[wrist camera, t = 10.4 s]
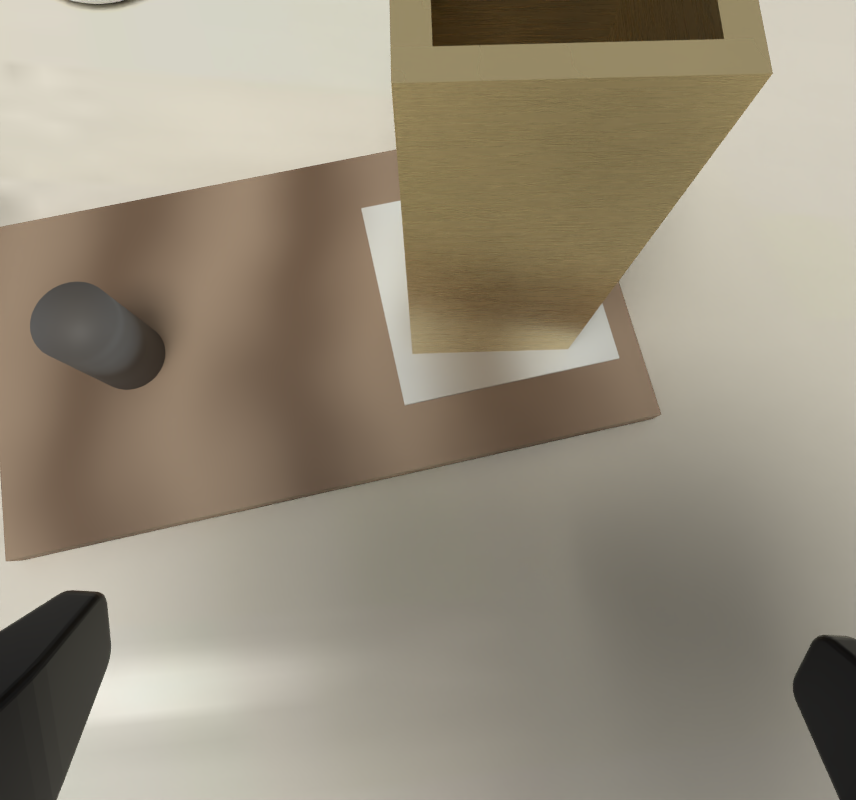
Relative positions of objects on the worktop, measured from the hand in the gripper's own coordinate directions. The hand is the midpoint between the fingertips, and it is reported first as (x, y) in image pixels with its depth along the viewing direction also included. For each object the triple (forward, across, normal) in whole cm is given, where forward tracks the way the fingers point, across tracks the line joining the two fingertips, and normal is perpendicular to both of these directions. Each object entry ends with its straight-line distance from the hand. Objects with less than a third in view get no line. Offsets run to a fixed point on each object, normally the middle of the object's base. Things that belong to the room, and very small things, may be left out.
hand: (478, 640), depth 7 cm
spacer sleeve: (+15, -2, -2) cm, 16 cm away
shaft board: (+16, +4, +1) cm, 16 cm away
